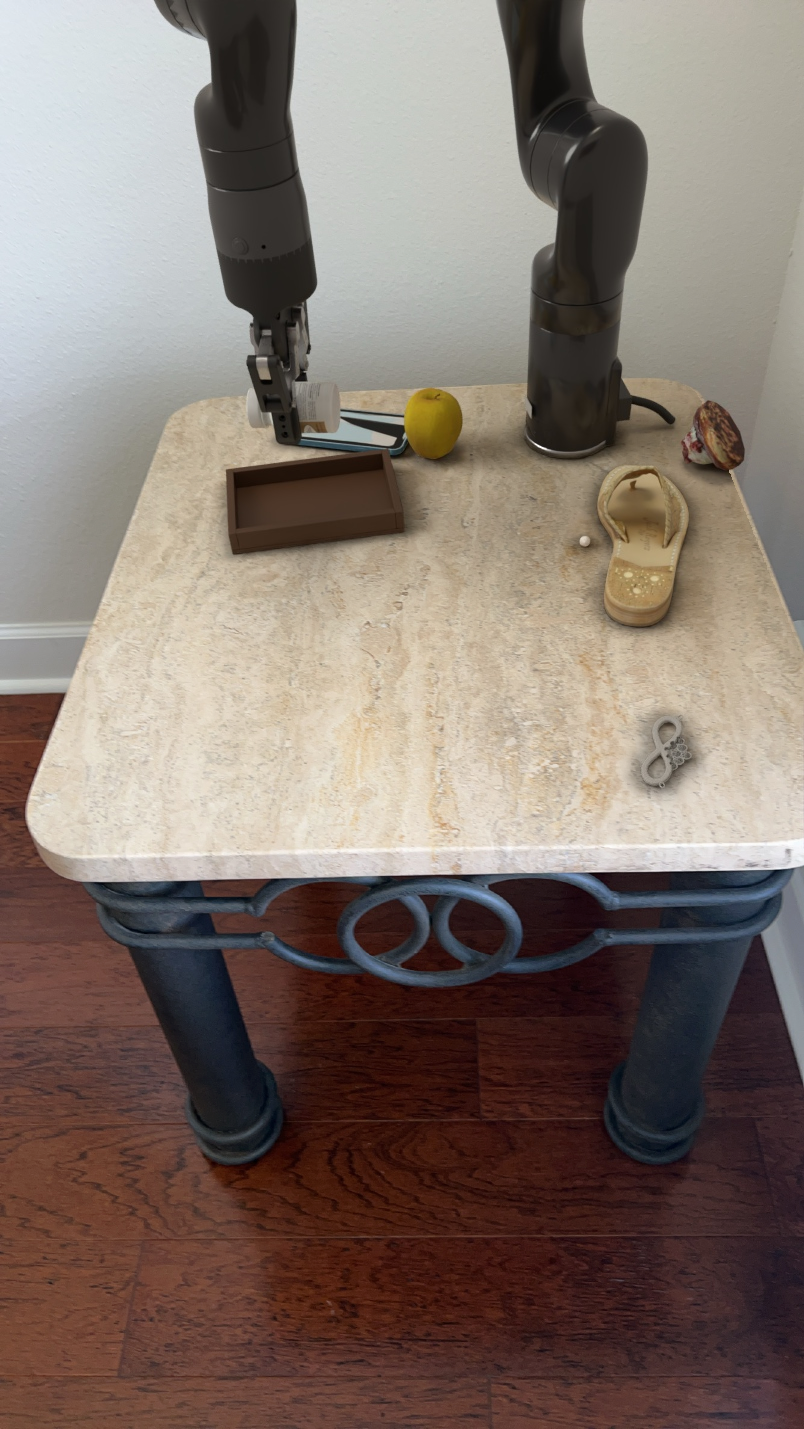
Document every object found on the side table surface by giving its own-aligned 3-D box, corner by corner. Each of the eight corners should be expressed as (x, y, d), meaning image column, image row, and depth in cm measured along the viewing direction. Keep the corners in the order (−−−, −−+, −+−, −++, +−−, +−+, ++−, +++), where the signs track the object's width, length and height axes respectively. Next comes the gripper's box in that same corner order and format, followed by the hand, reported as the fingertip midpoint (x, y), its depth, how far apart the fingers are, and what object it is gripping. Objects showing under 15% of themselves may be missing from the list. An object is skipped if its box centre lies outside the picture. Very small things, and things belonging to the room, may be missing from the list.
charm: (636, 787, 82) (682, 795, 81) (636, 783, 82) (682, 790, 81) (656, 714, 87) (700, 721, 86) (657, 710, 87) (700, 716, 86)
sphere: (603, 594, 98) (599, 602, 99) (590, 532, 102) (587, 541, 103) (592, 594, 98) (589, 602, 99) (580, 532, 102) (578, 540, 103)
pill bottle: (341, 432, 94) (258, 433, 95) (340, 381, 93) (256, 382, 94) (332, 433, 90) (245, 434, 91) (331, 380, 89) (243, 381, 90)
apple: (453, 473, 113) (452, 407, 107) (397, 465, 114) (393, 400, 108) (470, 441, 117) (469, 375, 111) (415, 434, 118) (412, 369, 112)
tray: (389, 467, 114) (388, 448, 112) (404, 531, 106) (403, 511, 104) (229, 488, 113) (225, 468, 111) (232, 554, 105) (228, 534, 103)
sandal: (524, 594, 98) (527, 524, 92) (617, 465, 112) (625, 397, 106) (653, 635, 94) (665, 565, 88) (735, 496, 107) (750, 426, 101)
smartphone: (298, 403, 123) (419, 415, 119) (299, 410, 123) (420, 423, 119) (274, 437, 118) (400, 451, 114) (276, 444, 119) (400, 458, 115)
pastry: (707, 432, 104) (666, 460, 107) (752, 476, 107) (711, 501, 111) (704, 384, 109) (665, 412, 112) (747, 428, 112) (708, 454, 115)
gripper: (293, 274, 76) (323, 473, 88) (324, 194, 85) (346, 384, 98) (194, 277, 77) (237, 472, 89) (234, 197, 86) (269, 384, 99)
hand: (294, 425), depth 93 cm, fingers closed on pill bottle, 4 cm apart
